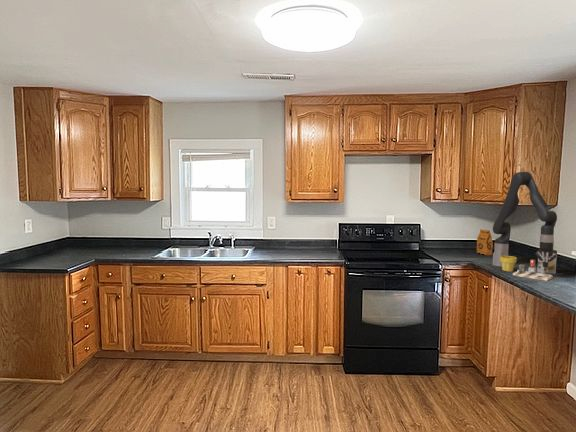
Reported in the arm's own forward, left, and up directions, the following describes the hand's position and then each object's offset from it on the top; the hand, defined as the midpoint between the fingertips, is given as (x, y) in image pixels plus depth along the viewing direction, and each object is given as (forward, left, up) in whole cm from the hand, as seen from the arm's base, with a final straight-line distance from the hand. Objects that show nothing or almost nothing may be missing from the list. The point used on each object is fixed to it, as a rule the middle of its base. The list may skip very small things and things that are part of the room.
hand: (545, 267), depth 255 cm
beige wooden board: (-7, -2, -7) cm, 10 cm away
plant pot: (-25, +6, -7) cm, 26 cm away
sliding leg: (-8, -2, -5) cm, 9 cm away
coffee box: (-5, +20, -7) cm, 22 cm away
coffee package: (-64, +63, -7) cm, 90 cm away
